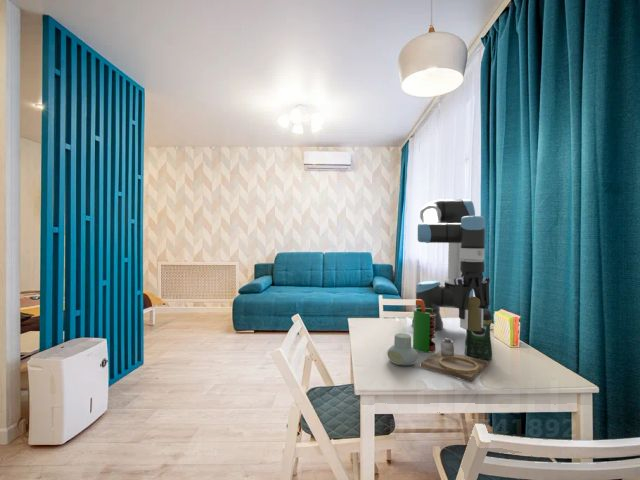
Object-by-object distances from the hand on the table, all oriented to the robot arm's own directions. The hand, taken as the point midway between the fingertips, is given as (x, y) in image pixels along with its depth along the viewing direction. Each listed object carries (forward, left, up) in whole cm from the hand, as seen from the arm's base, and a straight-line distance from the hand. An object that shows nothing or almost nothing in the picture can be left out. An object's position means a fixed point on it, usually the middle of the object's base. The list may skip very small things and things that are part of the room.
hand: (471, 327), depth 110 cm
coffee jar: (-15, -2, -15) cm, 21 cm away
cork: (0, 0, -1) cm, 1 cm away
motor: (-9, -21, -15) cm, 28 cm away
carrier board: (+1, -5, -15) cm, 16 cm away
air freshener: (+11, -20, -15) cm, 28 cm away
